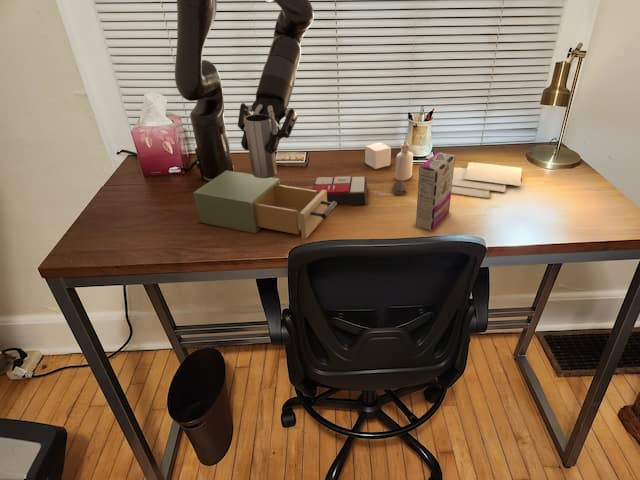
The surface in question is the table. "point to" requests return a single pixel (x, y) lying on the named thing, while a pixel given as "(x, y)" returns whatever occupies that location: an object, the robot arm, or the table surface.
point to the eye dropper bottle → (404, 163)
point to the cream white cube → (377, 155)
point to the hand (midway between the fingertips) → (257, 150)
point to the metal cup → (260, 145)
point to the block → (399, 188)
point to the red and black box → (343, 189)
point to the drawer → (292, 209)
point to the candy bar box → (434, 190)
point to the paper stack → (484, 179)
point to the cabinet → (232, 200)
